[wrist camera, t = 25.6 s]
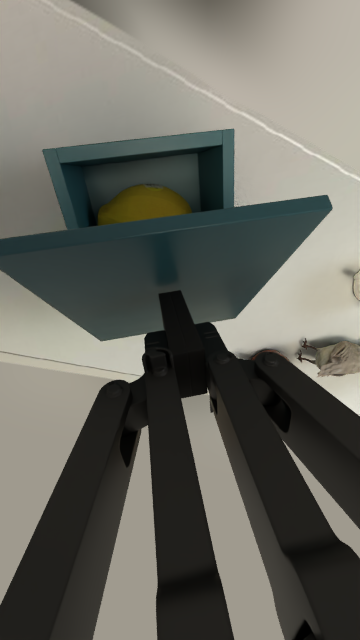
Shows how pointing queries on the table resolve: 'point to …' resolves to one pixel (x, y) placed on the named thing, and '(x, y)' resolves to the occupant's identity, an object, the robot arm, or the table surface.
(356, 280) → the mug
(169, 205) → the lemon
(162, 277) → the lid
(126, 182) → the teal box
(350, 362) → the decorative bird
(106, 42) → the table surface
